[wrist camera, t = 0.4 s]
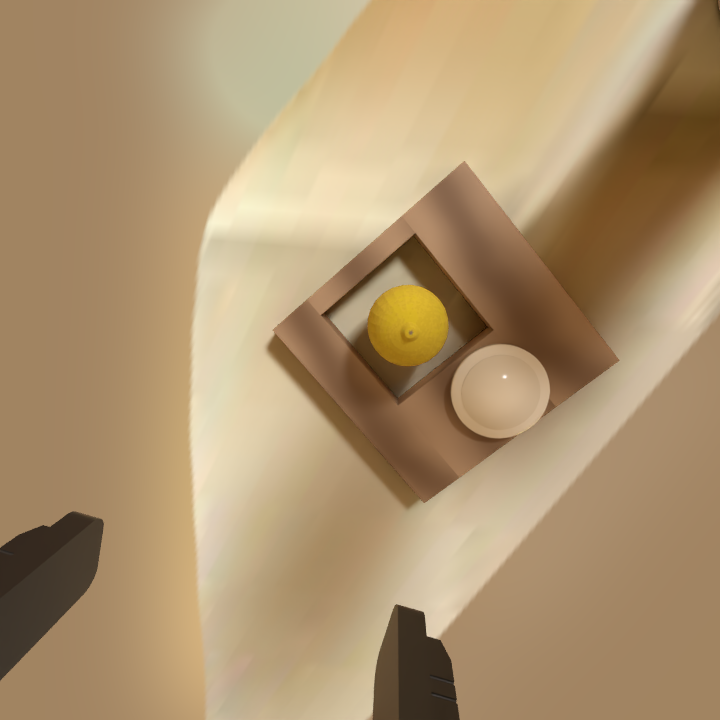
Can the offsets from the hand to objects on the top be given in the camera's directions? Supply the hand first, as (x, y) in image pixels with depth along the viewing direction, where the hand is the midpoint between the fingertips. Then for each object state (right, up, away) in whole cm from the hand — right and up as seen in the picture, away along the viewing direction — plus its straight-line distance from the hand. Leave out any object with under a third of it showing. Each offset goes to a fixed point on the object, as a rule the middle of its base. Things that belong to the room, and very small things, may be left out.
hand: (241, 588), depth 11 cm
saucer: (+13, +4, +21) cm, 25 cm away
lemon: (+7, +9, +23) cm, 25 cm away
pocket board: (+9, +7, +23) cm, 26 cm away
